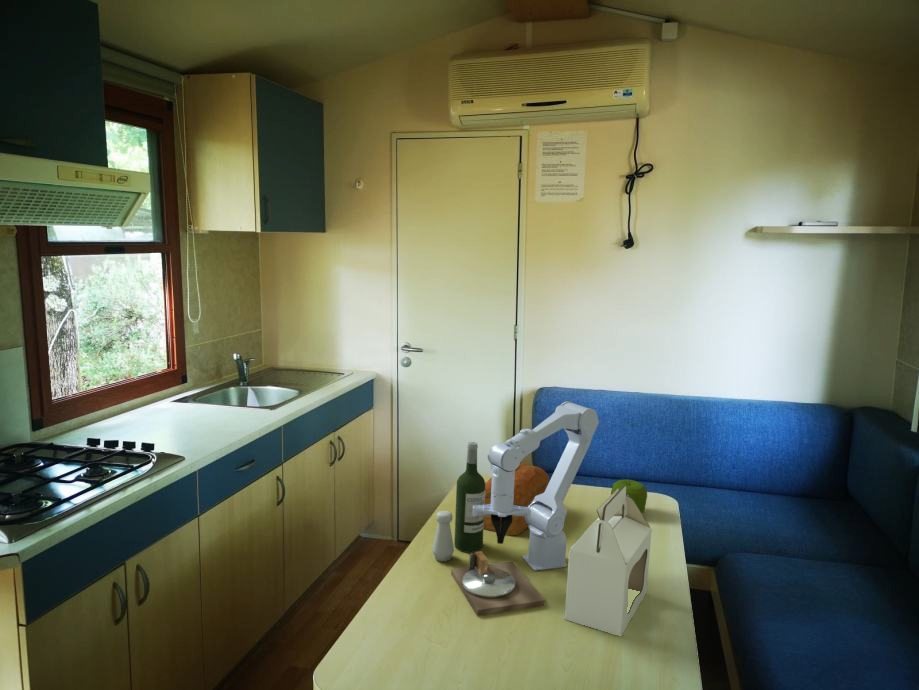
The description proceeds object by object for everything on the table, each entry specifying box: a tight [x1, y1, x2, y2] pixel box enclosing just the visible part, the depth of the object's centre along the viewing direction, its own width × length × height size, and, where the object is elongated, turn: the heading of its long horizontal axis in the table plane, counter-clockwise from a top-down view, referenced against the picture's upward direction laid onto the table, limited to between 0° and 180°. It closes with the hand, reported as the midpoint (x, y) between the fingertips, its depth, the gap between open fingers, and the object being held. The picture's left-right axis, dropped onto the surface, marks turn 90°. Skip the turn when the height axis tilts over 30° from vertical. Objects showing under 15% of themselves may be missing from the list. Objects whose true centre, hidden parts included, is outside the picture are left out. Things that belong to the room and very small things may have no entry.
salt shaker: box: [432, 510, 455, 562], centre depth 187 cm, size 6×6×13 cm
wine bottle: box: [454, 441, 486, 553], centre depth 193 cm, size 8×8×30 cm
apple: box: [610, 479, 648, 517], centre depth 222 cm, size 11×11×11 cm
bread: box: [483, 462, 550, 536], centre depth 215 cm, size 16×27×16 cm, turn 152°
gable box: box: [564, 486, 653, 635], centre depth 164 cm, size 22×13×28 cm, turn 151°
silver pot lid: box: [462, 550, 515, 598], centre depth 172 cm, size 15×13×5 cm
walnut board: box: [450, 552, 546, 617], centre depth 172 cm, size 17×20×6 cm
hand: (500, 542), depth 178 cm, fingers closed
